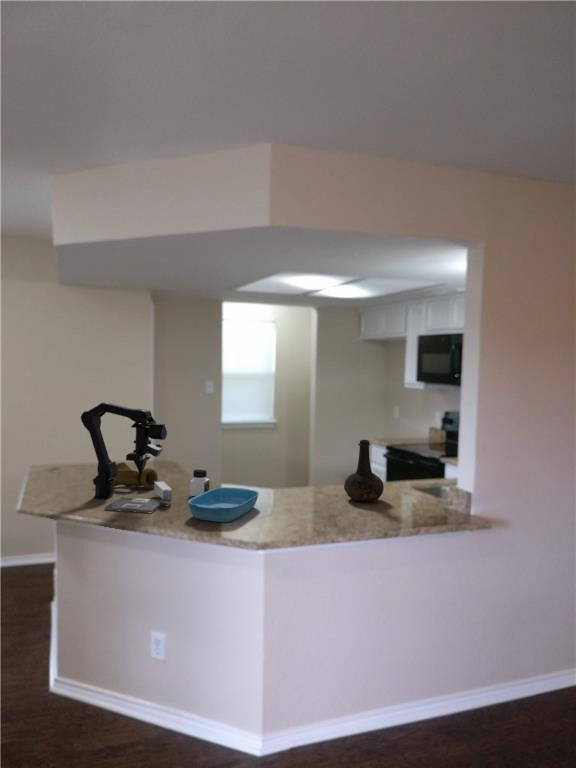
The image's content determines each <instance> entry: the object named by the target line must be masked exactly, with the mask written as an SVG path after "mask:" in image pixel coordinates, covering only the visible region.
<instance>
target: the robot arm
mask: <svg viewBox="0 0 576 768" xmlns="http://www.w3.org/2000/svg"><path fill="white" fill-rule="evenodd" d="M106 413H109V414H113V415H116V416H121V417H124V418H128V419H130V421H133V422H134V423H133V424H132V425H131V426H130V428H131V429H132V428H133V429H135V439H134V440H133V444H135V446H134V448H135V449H133V451H132V452H129V453H127V454H126V455H125V461H133V463H134V464H135V466H136V469H137V471H139V473H140V474H142V473H143V471H144V469H146V465H147V462H148V461H149V460H150V459H151V458H152V456H153V457H156V458H157V457H158V456H161V452H163V447H162V446H163V445H162V443H157V444H152V440H161V441H164V440H166V439H167V436H168V430H167V427H166V424H165V423H157V422H156V421H155V418H154V417H153V416H152V412H151V410H149V409H148V408H131V407H126V406H124V405H123V406H122V405H119V404H115V403H110V402H108V401H104V402H101V403H99V404H98V405H97V406H96V405H95V407H93V408H91V409H89V410H86V411H83V412H82V413H81V415H80V420H81V423H82V425H83V426H84V428H85V429H86V431H88V433H89V436H90V439H91V443H92V447H93V449H94V453H95V456H96V459H97V470H96V471H97V475H96V476H95V477H94V478H93V479H92V483H93V485H94V487H95V490H94V496H93V497H92V498H94V499H103V500H104V499H106V500H107V499H109V498H111V497H112V496H114V494H113V490H114V487H113V486H112V483H110V482H112V481H113V480H114V478H115V477H116V475H117V470H118V468H117V467H116V464H117V463H116V461H112V460H111V459H110V457H109V453H108V449H107V447H106V444H105V441H104V436H103V433H102V431H101V427H102V426H101V425H102V419H101V418H102V417H103V416H104V415H106ZM149 454H150V455H151V456H149Z"/></svg>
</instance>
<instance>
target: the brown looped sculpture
mask: <svg viewBox="0 0 576 768" xmlns="http://www.w3.org/2000/svg"><path fill="white" fill-rule="evenodd" d="M116 467H117V468H118V470H117V475H116V477H115V478H114V480H113V481H112V482H110V483H112V486H113V488H114V487H118V486H124V487H143V488H145V489H147V490H152V489H154V481H159V480H158V478H159V477H158V473H157V472H156V471H155V470H154V469H153V468H151V467H147V468H146V467H145V468H144V471H143V473H142V474H140V473H139V471H138V470H136V469H135V470H133V469H132V468H131V467H130V466H129V464H127V463H126V462H125V461H121V462H118V463H116ZM151 488H152V489H151Z"/></svg>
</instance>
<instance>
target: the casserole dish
mask: <svg viewBox="0 0 576 768" xmlns="http://www.w3.org/2000/svg"><path fill="white" fill-rule="evenodd" d="M259 494H260V492H259V491H257V490H254V489H250V488H245V487H244V488H243V487H229V486H228V487H226V486H225V487H223V486H222V487H215V488H211V489H209V491H207V492H204V493H202V494H200V495H198V496H196V497H191V498H190V499H189V500H188V501H187V504H188V507H189V510H190V513H191V515H192V516H193V518H195V519H196V520H197V519H198V520H201V521H202V520H203V521H208V522H209V521H211V522H218V523H229V522H232V521H235V520H237V519H238V518H239V517H241V516H243V515H245V514H246V513H248V512H249V511H251V510H252V509H253V508H254V507H255V505H256V502H257V500H258V497H259Z"/></svg>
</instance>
